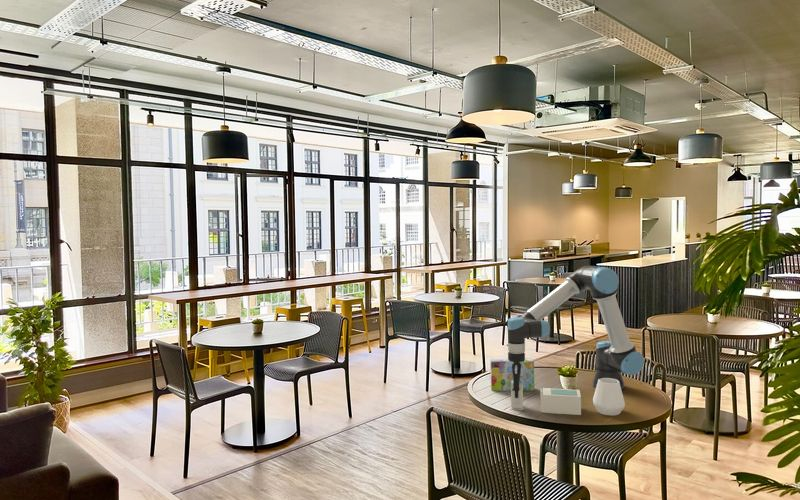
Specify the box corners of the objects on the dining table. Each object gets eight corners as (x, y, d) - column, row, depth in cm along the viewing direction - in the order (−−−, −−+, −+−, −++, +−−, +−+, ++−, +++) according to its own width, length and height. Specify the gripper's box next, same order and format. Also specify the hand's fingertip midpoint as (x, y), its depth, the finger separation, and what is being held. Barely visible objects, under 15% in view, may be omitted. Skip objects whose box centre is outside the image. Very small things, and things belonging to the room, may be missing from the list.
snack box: (532, 387, 281) (532, 358, 280) (534, 391, 276) (534, 361, 275) (490, 387, 283) (490, 358, 282) (491, 390, 278) (490, 361, 277)
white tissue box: (579, 407, 251) (579, 389, 250) (581, 415, 241) (581, 396, 241) (540, 405, 255) (540, 387, 255) (540, 412, 245) (540, 394, 245)
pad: (523, 405, 256) (523, 404, 256) (522, 410, 249) (522, 409, 249) (511, 404, 257) (511, 403, 257) (510, 409, 250) (510, 408, 250)
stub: (522, 405, 254) (522, 380, 254) (522, 408, 250) (522, 383, 249) (511, 404, 256) (511, 380, 255) (511, 407, 251) (510, 383, 251)
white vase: (631, 415, 240) (632, 383, 239) (605, 418, 236) (605, 386, 235) (611, 405, 253) (611, 375, 252) (586, 408, 249) (586, 378, 248)
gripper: (509, 347, 261) (509, 396, 262) (506, 356, 244) (507, 408, 245) (525, 347, 259) (526, 396, 260) (524, 357, 242) (524, 409, 243)
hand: (517, 402), depth 253 cm, fingers closed on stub, 4 cm apart
